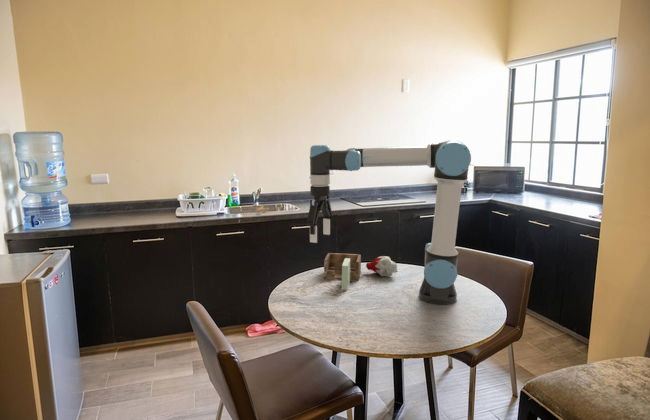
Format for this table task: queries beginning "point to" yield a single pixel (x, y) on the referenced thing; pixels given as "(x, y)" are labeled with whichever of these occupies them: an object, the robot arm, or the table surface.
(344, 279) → the door
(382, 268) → the white and red lump
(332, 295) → the table surface
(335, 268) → the cabinet
